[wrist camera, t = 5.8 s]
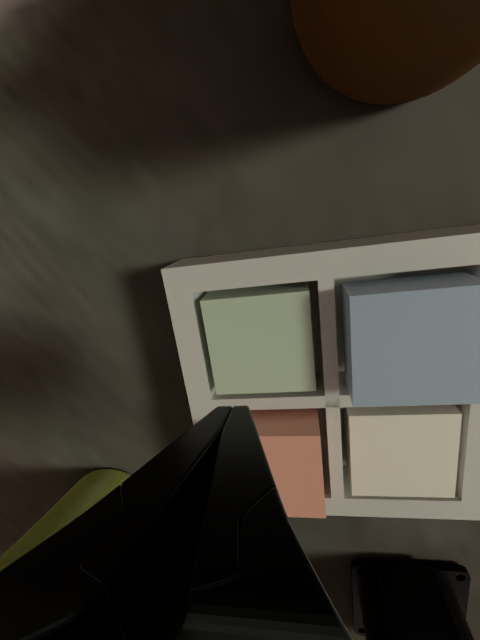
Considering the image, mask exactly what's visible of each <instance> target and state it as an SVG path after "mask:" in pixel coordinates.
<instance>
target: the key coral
mask: <svg viewBox="0 0 480 640" xmlns="http://www.w3.org/2000/svg"><path fill="white" fill-rule="evenodd" d="M250 412H251V415H252V418H253V420H254V423H255V426H256V429H257V432H258V435H259V438H260V441H261V444H262V446H263V449H264V452H265V455H266V458H267V461H268V464H269V467H270V470H271V473H272V475H273V478H274V481H275V484H276V488H277V489H278V492H279V495H280V498H281V501H282V504H283V506H284V509H285V511H286V514H287V516H288V517H302V518H326V509H325V494H324V480H323V466H322V452H321V438H320V428H319V419H318V411H317V408H307V409H270V410H250Z"/></svg>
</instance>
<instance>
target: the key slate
mask: <svg viewBox="0 0 480 640" xmlns="http://www.w3.org/2000/svg"><path fill="white" fill-rule="evenodd" d="M342 304H343V329H344V354H345V380H346V384H347V388H348V391H349V394H350V398H351V401H352V405H353V407H375V406H412V405H450V404H480V278H479V277H476V276H474V275H471V274H469V273H466V272H455V273H444V274H434V275H423V276H413V277H402V278H392V279H381V280H371V281H360V282H350V283H342Z"/></svg>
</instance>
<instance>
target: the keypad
mask: <svg viewBox="0 0 480 640" xmlns="http://www.w3.org/2000/svg"><path fill="white" fill-rule="evenodd" d="M455 272H466V273H469V274H471V275H474V276H476V277H479V278H480V224H473V225H465V226H456V227H448V228H440V229H431V230H423V231H414V232H406V233H398V234H389V235H381V236H372V237H364V238H355V239H347V240H339V241H330V242H322V243H313V244H305V245H297V246H288V247H280V248H271V249H263V250H255V251H246V252H238V253H229V254H221V255H212V256H204V257H196V258H187V259H181V260H178V261H176V262H174V263H172V264H170V265H168V266H166V267H164V268H162V269H161V273H162V278H163V282H164V287H165V292H166V297H167V301H168V306H169V311H170V316H171V320H172V325H173V330H174V335H175V339H176V344H177V349H178V353H179V358H180V363H181V368H182V372H183V377H184V382H185V387H186V391H187V396H188V401H189V406H190V410H191V415H192V420H193V425H195V424H196V423H197V422H199V421H200V420H201V419H202V418H204V417H205V416H206V415H207V414H209V413H210V412H211V411H212V410H214V409H215V408H216V407H218V406H232V407H234V406H243V405H247V406H248V407H249V409H250V410H270V409H307V408H317V411H318V419H319V428H320V438H321V452H322V466H323V480H324V494H325V509H326V515H331V516H362V517H392V518H423V519H454V520H480V404H450V405H455V406H456V407H457V408H458V409H459V411H460V412H461V413H462V421H461V432H460V444H459V455H458V467H457V478H456V490H455V498H438V497H392V496H352V493H351V488H350V483H349V478H348V473H347V468H346V456H345V433H344V409H343V408H344V407H353V405H352V401H351V398H350V394H349V391H348V388H347V384H346V380H345V354H344V329H343V304H342V283H350V282H360V281H371V280H381V279H392V278H402V277H413V276H423V275H434V274H444V273H455ZM306 281H308V287H309V295H310V309H311V323H312V337H313V351H314V365H315V379H316V391H306V392H278V393H251V394H223V395H217V394H216V389H215V383H214V378H213V372H212V366H211V361H210V355H209V350H208V344H207V339H206V333H205V327H204V322H203V316H202V311H201V305H200V300H201V299H202V298H203V297H204V296H205V295H206V294H207V293H208V292H209V291H214V290H224V289H234V288H244V287H255V286H265V285H275V284H285V283H295V282H306ZM412 406H418V405H412ZM375 407H381V406H375Z"/></svg>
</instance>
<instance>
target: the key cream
mask: <svg viewBox="0 0 480 640" xmlns="http://www.w3.org/2000/svg"><path fill="white" fill-rule="evenodd" d="M343 409H344V433H345V456H346V468H347V473H348V478H349V483H350V488H351V493H352V496H392V497H438V498H455V490H456V478H457V467H458V455H459V444H460V432H461V421H462V413H461V412H460V411H459V409H458V408H457V407H456V406H455V405H418V406H381V407H344V408H343Z"/></svg>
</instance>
